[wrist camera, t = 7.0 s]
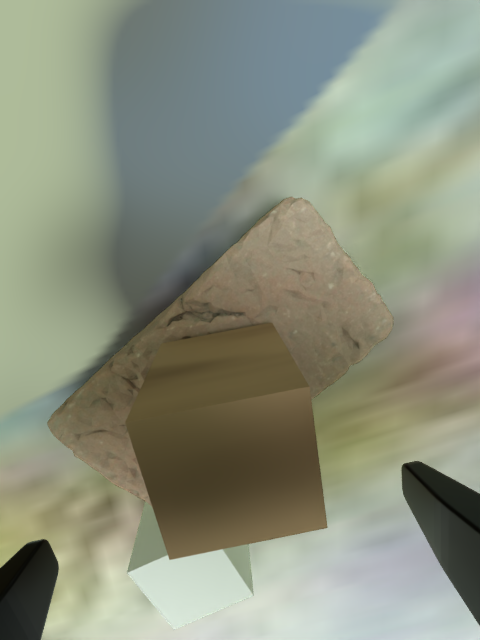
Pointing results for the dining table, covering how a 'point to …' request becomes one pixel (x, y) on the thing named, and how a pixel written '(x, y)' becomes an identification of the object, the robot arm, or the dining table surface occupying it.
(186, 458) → the walnut block
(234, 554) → the grey block
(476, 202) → the dining table surface
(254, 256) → the brick
